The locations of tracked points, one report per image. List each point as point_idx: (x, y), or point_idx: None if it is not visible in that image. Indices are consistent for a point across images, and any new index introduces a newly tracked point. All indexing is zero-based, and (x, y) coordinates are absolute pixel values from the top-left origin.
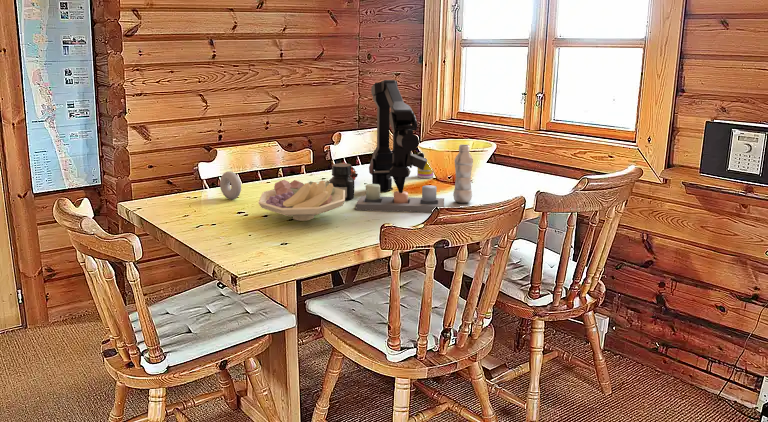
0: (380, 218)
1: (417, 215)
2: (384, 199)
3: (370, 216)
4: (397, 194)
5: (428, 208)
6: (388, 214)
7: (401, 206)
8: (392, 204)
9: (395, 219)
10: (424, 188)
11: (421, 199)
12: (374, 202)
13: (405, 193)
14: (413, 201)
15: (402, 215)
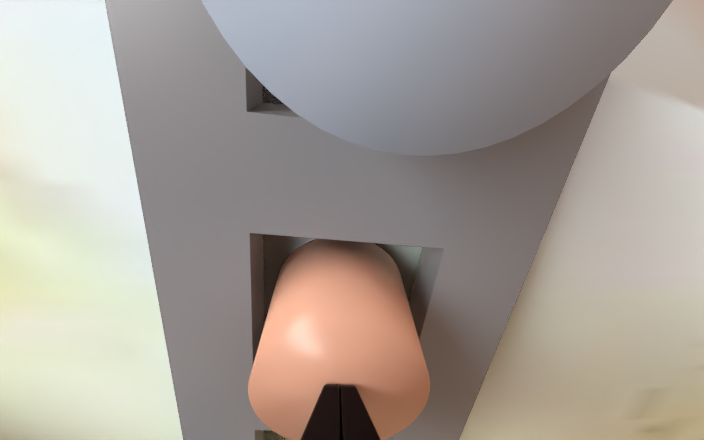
0: (634, 386)
1: (656, 155)
2: None
3: (569, 427)
4: (411, 415)
5: None
6: (551, 351)
7: (508, 306)
8: (459, 371)
9: (699, 314)
10: (576, 92)
11: (235, 98)
12: (262, 435)
13: (392, 353)
14: (350, 203)
15: (609, 271)
